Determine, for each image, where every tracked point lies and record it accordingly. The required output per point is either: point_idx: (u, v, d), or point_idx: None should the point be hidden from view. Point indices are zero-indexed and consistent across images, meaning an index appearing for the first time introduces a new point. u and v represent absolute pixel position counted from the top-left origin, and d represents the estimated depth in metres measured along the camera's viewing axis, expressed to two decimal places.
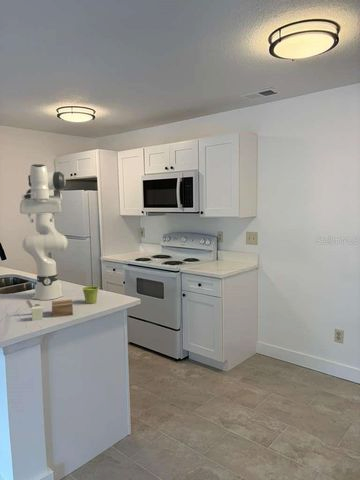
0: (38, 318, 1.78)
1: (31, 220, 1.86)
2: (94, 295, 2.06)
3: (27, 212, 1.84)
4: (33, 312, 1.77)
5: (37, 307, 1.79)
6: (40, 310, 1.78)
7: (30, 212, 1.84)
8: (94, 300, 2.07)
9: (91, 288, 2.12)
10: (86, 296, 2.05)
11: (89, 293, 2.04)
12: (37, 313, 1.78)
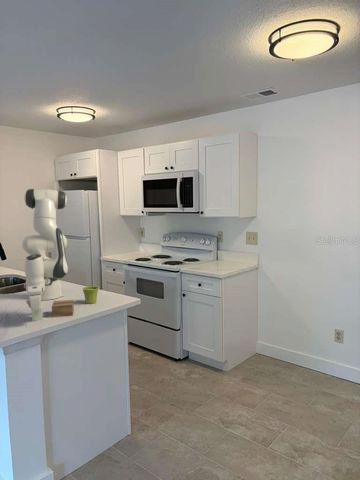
0: (38, 318, 1.78)
1: (38, 313, 1.77)
2: (94, 295, 2.06)
3: None
4: (33, 312, 1.77)
5: None
6: (40, 310, 1.78)
7: None
8: (94, 300, 2.07)
9: (91, 288, 2.12)
10: (86, 296, 2.05)
11: (89, 293, 2.04)
12: None
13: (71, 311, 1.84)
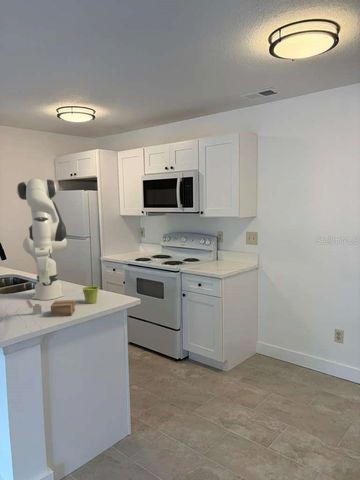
0: (45, 280, 1.79)
1: (45, 275, 1.78)
2: (94, 295, 2.06)
3: None
4: (40, 274, 1.78)
5: None
6: (47, 272, 1.79)
7: None
8: (94, 300, 2.07)
9: (91, 288, 2.12)
10: (86, 296, 2.05)
11: (89, 293, 2.04)
12: None
13: (69, 311, 1.84)
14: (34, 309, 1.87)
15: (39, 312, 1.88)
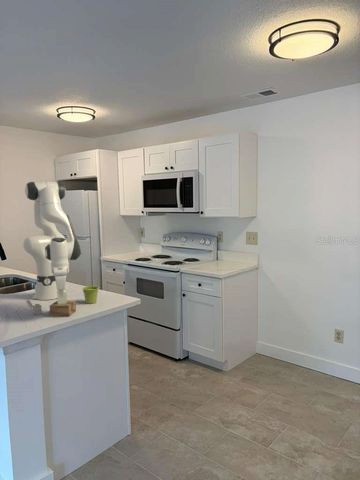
0: (63, 301, 1.86)
1: None
2: (94, 295, 2.06)
3: None
4: (58, 295, 1.85)
5: None
6: (65, 294, 1.86)
7: None
8: (94, 300, 2.07)
9: (91, 288, 2.12)
10: (86, 296, 2.05)
11: (89, 293, 2.04)
12: None
13: (68, 312, 1.83)
14: (34, 309, 1.87)
15: (39, 312, 1.88)
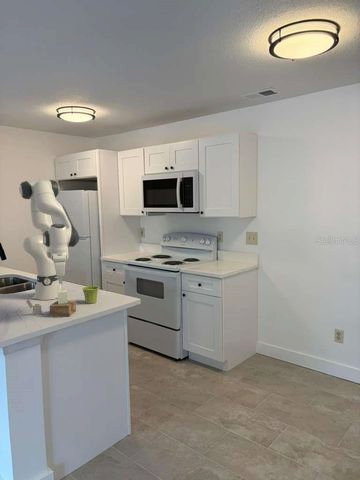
0: (64, 301, 1.86)
1: (62, 281, 1.83)
2: (94, 295, 2.06)
3: None
4: (59, 295, 1.85)
5: (62, 291, 1.88)
6: (66, 294, 1.86)
7: None
8: (94, 300, 2.07)
9: (91, 288, 2.12)
10: (86, 296, 2.05)
11: (89, 293, 2.04)
12: (63, 296, 1.86)
13: (68, 312, 1.83)
14: (34, 309, 1.87)
15: (39, 312, 1.88)
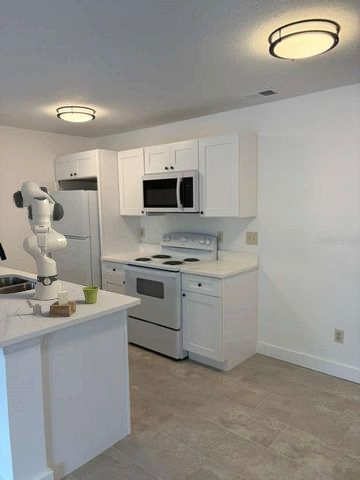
0: (64, 302, 1.86)
1: (44, 253, 1.84)
2: (94, 295, 2.06)
3: None
4: (59, 296, 1.84)
5: (63, 291, 1.87)
6: (66, 294, 1.86)
7: None
8: (94, 300, 2.07)
9: (91, 288, 2.12)
10: (86, 296, 2.05)
11: (89, 293, 2.04)
12: (63, 297, 1.85)
13: (68, 312, 1.82)
14: (34, 309, 1.87)
15: (39, 312, 1.88)
